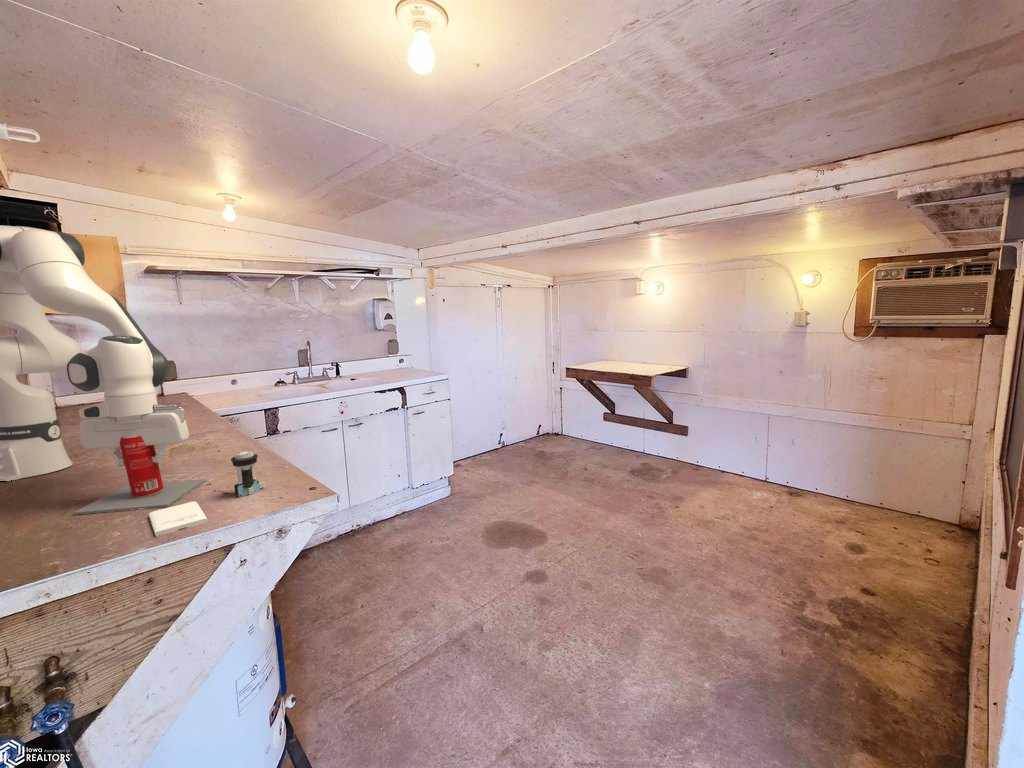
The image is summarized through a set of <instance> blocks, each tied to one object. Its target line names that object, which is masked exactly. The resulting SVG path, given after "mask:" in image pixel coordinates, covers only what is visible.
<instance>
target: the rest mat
mask: <svg viewBox="0 0 1024 768" xmlns="http://www.w3.org/2000/svg"><path fill="white" fill-rule="evenodd" d="M206 482H207V479H194V480H193V479H192V480H181V481H167V482H165V481H164V482H162V483H163V490H162V491H161V492H159V493H157V494H155V495H152V496H148V497H143V498H135V497H133V496H132V493H131V489H130V485H127V484H126V485H124V486H122V487H120V488H119V489H116V490H115V491H113V492H111V493H109V494H107V495H105V496H102V497H100V498H99V499H97V500H94V501H93V502H91V503H89V504H87V505H85V506H83V507H82V508H79V509H78V510H77V509H76V510H75V511H73V512H72V516H80V515H79V514H83V515H90V514H89V513H95V514H103V513H102V512H106V513H112V512H111V511H118V512H123V511H122V510H129V511H132V510H131V509H139V508H152V509H156V508H155V507H163V508H169V507H171V506H172V505H174V504H175V503H176V502H178V501H179V500H181V499H183V498H184V497H185V496H187V495H188V494H189V492H190V493H191V492H193V491H194V490H196V489H197V488H199V487H200V486H202V485H203V484H205V483H206ZM201 484H202V485H201ZM198 486H199V487H198ZM192 490H193V491H192ZM186 494H187V495H186ZM184 495H185V496H184ZM183 496H184V497H183ZM180 498H181V499H180ZM178 499H179V500H178ZM177 500H178V501H177ZM175 501H176V502H175ZM174 502H175V503H174ZM171 504H172V505H171ZM168 506H169V507H168Z"/></svg>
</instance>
